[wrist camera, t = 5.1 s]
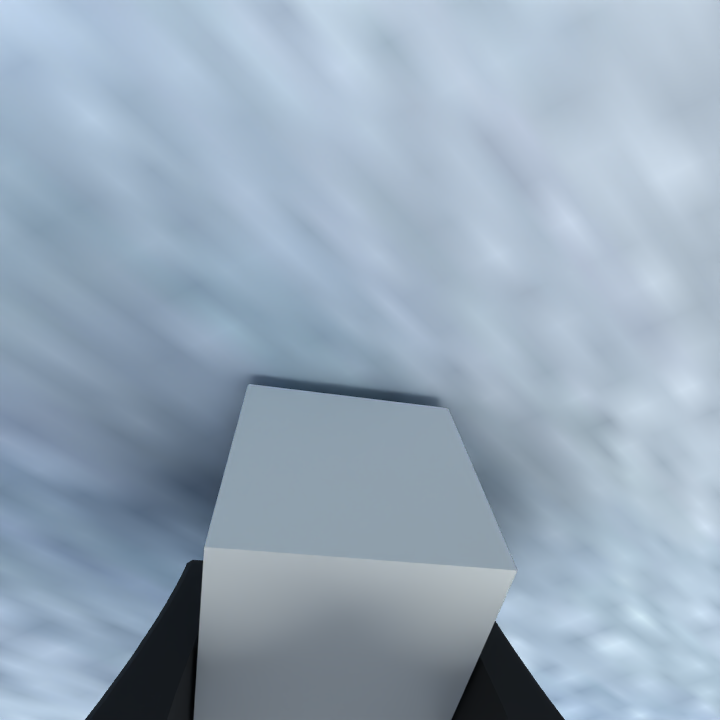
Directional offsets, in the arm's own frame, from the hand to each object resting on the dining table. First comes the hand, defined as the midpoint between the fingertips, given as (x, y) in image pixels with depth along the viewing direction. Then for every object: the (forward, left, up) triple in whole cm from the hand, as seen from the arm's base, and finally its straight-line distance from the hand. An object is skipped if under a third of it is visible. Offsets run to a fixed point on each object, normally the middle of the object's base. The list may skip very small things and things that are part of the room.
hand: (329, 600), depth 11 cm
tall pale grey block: (0, 0, -3) cm, 3 cm away
